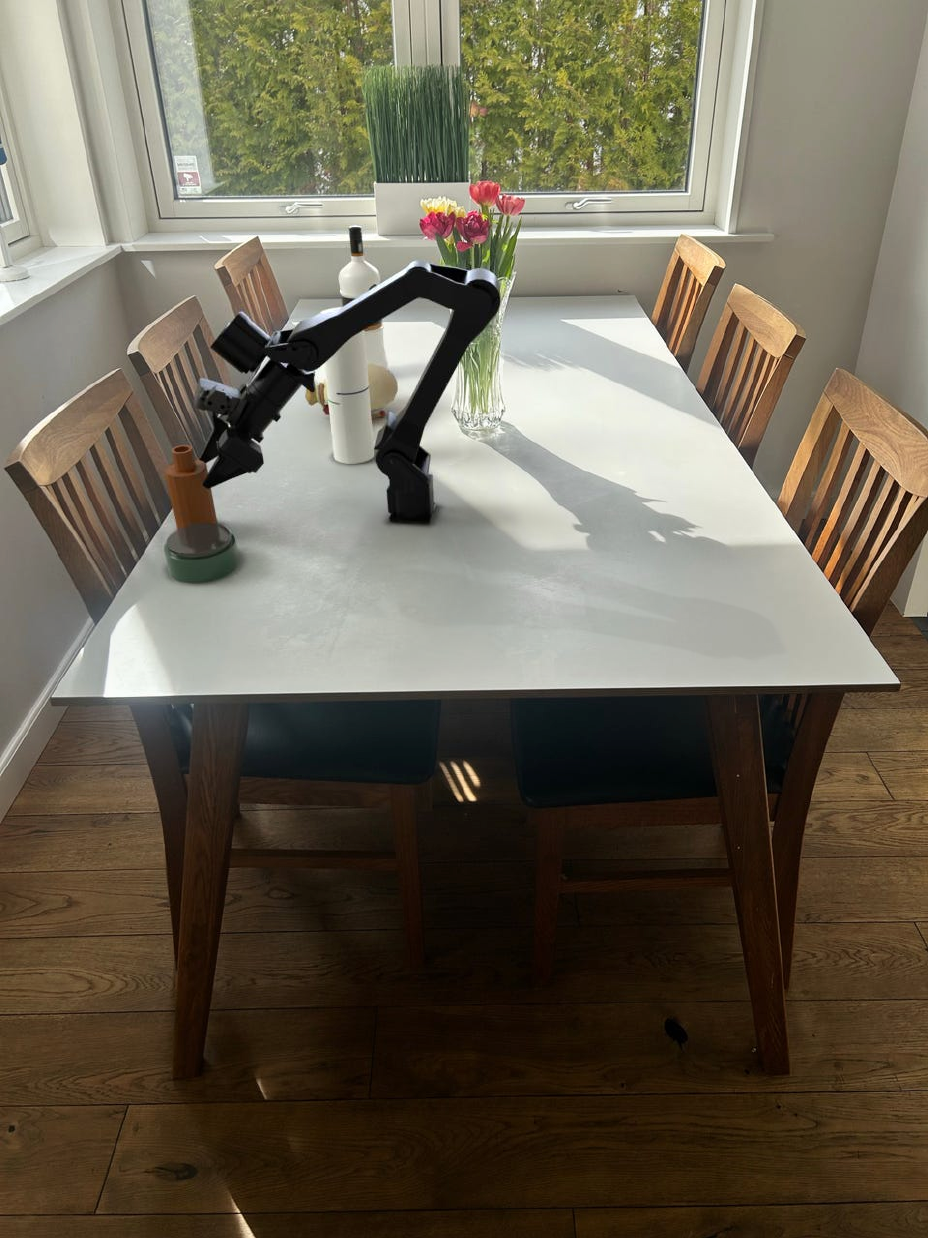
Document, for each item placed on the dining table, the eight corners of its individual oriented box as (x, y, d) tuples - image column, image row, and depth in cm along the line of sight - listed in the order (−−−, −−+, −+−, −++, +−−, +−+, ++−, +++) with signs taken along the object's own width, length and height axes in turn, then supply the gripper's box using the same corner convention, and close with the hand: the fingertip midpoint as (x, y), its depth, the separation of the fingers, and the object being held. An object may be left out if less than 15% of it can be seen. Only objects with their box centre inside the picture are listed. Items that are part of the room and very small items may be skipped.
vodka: (370, 363, 209) (358, 219, 192) (397, 373, 203) (388, 225, 187) (337, 374, 204) (322, 226, 187) (364, 384, 198) (351, 233, 181)
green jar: (249, 550, 140) (244, 523, 138) (224, 585, 132) (219, 557, 130) (185, 546, 142) (179, 519, 139) (157, 580, 134) (150, 553, 131)
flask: (409, 422, 180) (315, 438, 176) (391, 394, 192) (304, 408, 189) (404, 375, 174) (307, 390, 171) (386, 349, 187) (296, 363, 184)
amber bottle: (224, 522, 148) (209, 441, 140) (209, 540, 143) (193, 458, 135) (187, 520, 149) (170, 440, 141) (172, 538, 144) (153, 456, 136)
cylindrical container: (367, 465, 164) (355, 320, 151) (328, 462, 166) (312, 318, 152) (379, 448, 170) (368, 307, 156) (341, 446, 171) (327, 306, 158)
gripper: (217, 340, 141) (155, 420, 144) (226, 381, 126) (157, 469, 129) (277, 386, 147) (216, 460, 150) (292, 430, 132) (224, 512, 135)
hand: (203, 474), depth 141 cm, fingers open, 9 cm apart
